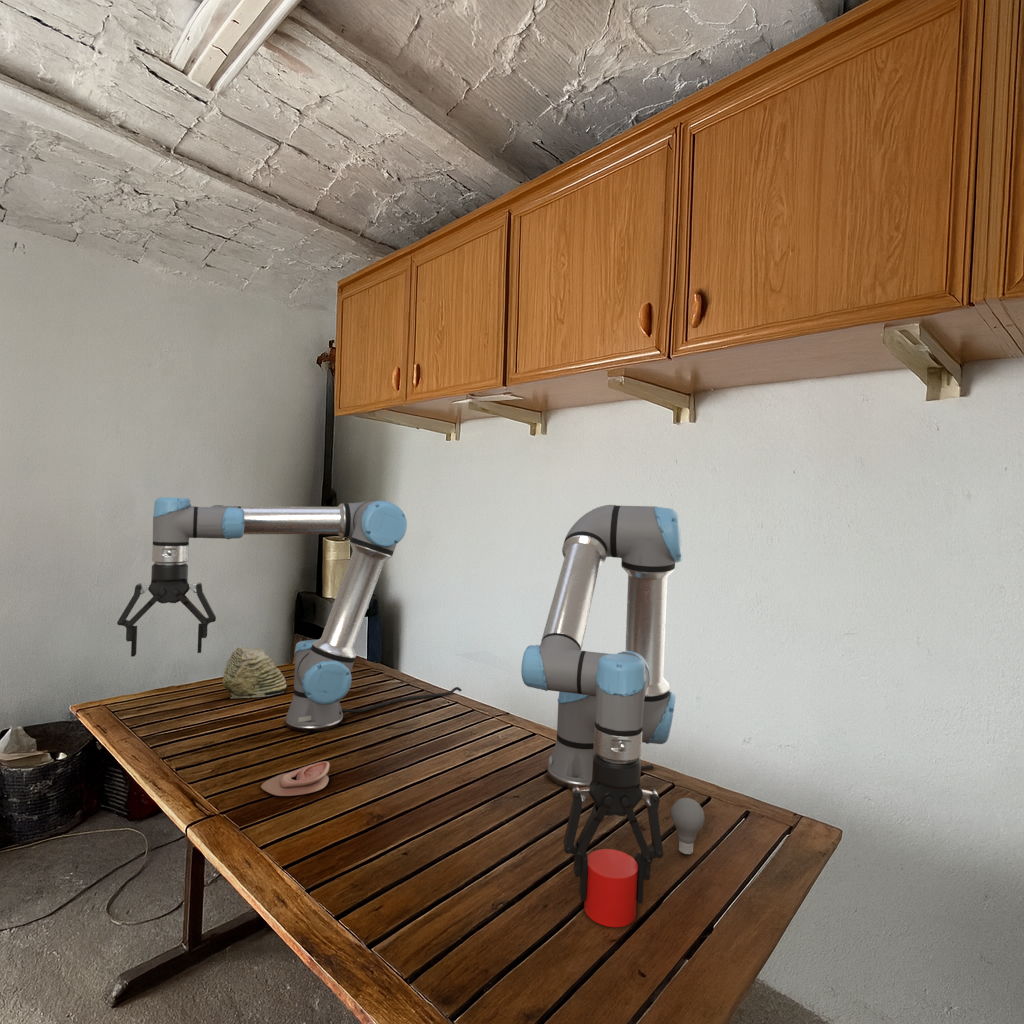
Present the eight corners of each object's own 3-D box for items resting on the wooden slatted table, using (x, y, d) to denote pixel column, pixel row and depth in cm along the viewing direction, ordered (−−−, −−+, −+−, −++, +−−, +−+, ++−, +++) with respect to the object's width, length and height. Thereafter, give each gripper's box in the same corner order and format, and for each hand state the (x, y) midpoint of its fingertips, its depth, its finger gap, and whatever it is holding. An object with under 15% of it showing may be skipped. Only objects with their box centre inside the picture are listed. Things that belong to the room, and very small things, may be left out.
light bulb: (664, 843, 121) (667, 792, 121) (695, 843, 121) (698, 792, 121) (675, 861, 115) (678, 807, 115) (707, 861, 115) (710, 807, 115)
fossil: (218, 695, 195) (220, 647, 195) (278, 685, 208) (279, 640, 207) (228, 703, 189) (230, 653, 188) (289, 692, 201) (290, 645, 201)
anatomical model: (253, 773, 134) (283, 753, 145) (252, 792, 134) (282, 770, 145) (310, 782, 131) (336, 760, 142) (309, 801, 131) (335, 777, 143)
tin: (610, 934, 95) (612, 884, 95) (573, 905, 101) (575, 858, 101) (646, 915, 100) (648, 867, 100) (609, 888, 106) (611, 843, 106)
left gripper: (104, 565, 140) (101, 660, 140) (228, 564, 150) (225, 653, 150) (110, 561, 146) (107, 652, 147) (228, 561, 157) (225, 646, 157)
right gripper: (552, 761, 96) (545, 908, 97) (690, 768, 96) (682, 915, 97) (549, 742, 104) (543, 879, 104) (677, 748, 104) (670, 885, 104)
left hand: (167, 653), depth 149 cm, fingers open, 13 cm apart
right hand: (610, 896), depth 101 cm, fingers closed on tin, 8 cm apart
